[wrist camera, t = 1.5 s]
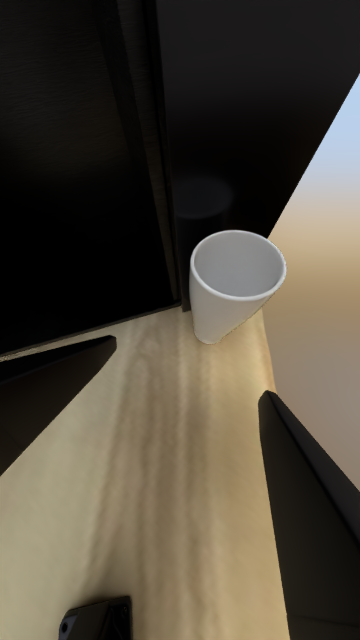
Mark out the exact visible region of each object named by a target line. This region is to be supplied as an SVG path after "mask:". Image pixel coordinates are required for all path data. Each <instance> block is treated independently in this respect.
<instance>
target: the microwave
mask: <svg viewBox="0 0 360 640" xmlns="http://www.w3.org/2000/svg"><path fill="white" fill-rule="evenodd" d="M359 74H360V0H0V357H3V356H7V355H10V354H14V353H17V352H20V351H24V350H27V349H31V348H34V347H38V346H41V345H45V344H48V343H52V342H55V341H59V340H62V339H66V338H69V337H73V336H76V335H80V334H83V333H87V332H90V331H94V330H97V329H101V328H104V327H108V326H111V325H115V324H118V323H122V322H125V321H129V320H132V319H136V318H139V317H143V316H146V315H149V314H153V313H156V312H160V311H163V310H167V309H170V308H174V307H177V306H181V308H182V311H183V312H186V311H190V310H191V304H190V296H189V275H190V261H191V255H192V253H193V251H194V249H195V247H196V246H197V245H198V244H199V243H200V242H201V241H202V240H203V239H205V238H206V237H208V236H210V235H212V234H215V233H218V232H221V231H228V230H241V231H247V232H252V233H255V234H258V235H260V236H262V237H264V238H266V239H267V238H268V237H269V235H270V233H271V231H272V229H273V228H274V226H275V224H276V222H277V221H278V219H279V217H280V215H281V213H282V211H283V210H284V208H285V206H286V205H287V203H288V201H289V199H290V197H291V196H292V194H293V192H294V190H295V188H296V187H297V185H298V183H299V181H300V179H301V178H302V176H303V174H304V172H305V170H306V169H307V167H308V165H309V163H310V161H311V160H312V158H313V156H314V154H315V152H316V151H317V149H318V147H319V145H320V144H321V142H322V140H323V138H324V136H325V134H326V133H327V131H328V129H329V128H330V126H331V124H332V122H333V120H334V119H335V117H336V115H337V113H338V111H339V110H340V108H341V106H342V104H343V102H344V101H345V99H346V97H347V95H348V94H349V92H350V90H351V88H352V86H353V84H354V83H355V81H356V79H357V77H358V76H359Z"/></svg>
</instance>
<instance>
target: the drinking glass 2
mask: <svg viewBox="0 0 360 640" xmlns="http://www.w3.org/2000/svg"><path fill="white" fill-rule="evenodd" d="M286 270H287V268H286V262H285V259H284V256H283V255H282V253H281V251H280V250H279V249H278V248H277V247H276V246H275V245H274V244H273V243H272V242H271V241H269V240H268V239H266V238H264V237H262V236H260V235H258V234H255V233H252V232H247V231H241V230H228V231H221V232H218V233H215V234H212V235H210V236H208V237H206V238H205V239H203V240H202V241H201V242H200V243H199V244H198V245H197V246H196V247H195V249H194V251H193V253H192V255H191V261H190V275H189V296H190V304H191V310H192V317H193V324H194V326H193V329H194V333H195V336H196V337H197V338H198V339H199V340H200V341H201V342H203V343H206V344H216V343H218V342H220V341H221V340H222V339H223V338H224V337H225V336H227V335H228V334H229V333H231V332H232V331H233V330H235V329H236V328H237V327H239V326H240V325H242V324H243V323H244V322H246V321H247V320H248V319H249V318H251V317H252V316H253V315H254V314H255V313H256V312H257V311H258V310H259V309H260V308H261V307H262V306H263V305H264V304H265V303H266V302H267V301H268V300H269V299H270V298H271V296H272V295H273V294H274V293H275V292H276V291H277V290H278V288H279V287H280V286H281V285H282V283H283V281H284V279H285V276H286Z"/></svg>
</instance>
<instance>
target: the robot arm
mask: <svg viewBox="0 0 360 640" xmlns="http://www.w3.org/2000/svg"><path fill="white" fill-rule="evenodd" d="M116 348H117V343H116V337H114V336H112V335H107V336H103V337H99V338H95V339H91V340H87V341H83V342H79V343H75V344H71V345H67V346H63V347H59V348H55V349H51V350H47V351H43V352H39V353H35V354H31V355H27V356H23V357H19V358H15V359H11V360H6V361H2V362H0V476H1V475H2V474H3V473H4V472H5V471H6V470H7V468H8V467H9V466H10V465H11V464H12V463H13V462H14V461H15V460H16V459H17V458H18V457H19V456H20V455H21V454H22V452H23V451H24V450H25V449H26V448H27V447H28V446H29V445H30V444H31V443H32V442H33V441H34V440H35V439H36V438H37V437H38V435H39V434H40V433H41V432H42V431H43V430H44V429H45V428H46V427H47V426H48V425H49V424H50V423H51V422H52V421H53V420H54V419H55V417H56V416H57V415H58V414H59V413H60V412H61V411H62V410H63V409H64V408H65V407H66V406H67V405H68V404H69V403H70V402H71V401H72V399H73V398H74V397H75V396H76V395H77V394H78V393H79V392H80V391H81V390H82V389H83V388H84V387H85V386H86V385H87V384H88V383H89V381H90V380H91V379H92V378H93V377H94V376H95V375H96V374H97V373H98V372H99V371H100V370H101V368H102V367H103V366H104V365H105V363H106V362H107V361H108V359H109V358H110V357H111V356H112V354H113V353H114V352H115V350H116ZM258 412H259V432H260V442H261V448H262V455H263V462H264V468H265V475H266V481H267V488H268V495H269V501H270V508H271V515H272V521H273V528H274V535H275V541H276V548H277V554H278V561H279V568H280V574H281V581H282V588H283V594H284V601H285V608H286V612H287V622H288V629H289V635H290V640H360V492H359V490H358V489H357V488H356V487H355V486H354V484H353V483H352V482H351V481H350V480H349V479H348V477H347V476H346V475H345V474H344V473H343V472H342V470H341V469H340V468H339V467H338V466H337V465H336V463H335V462H334V461H333V460H332V459H331V458H330V456H329V455H328V454H327V453H326V452H325V450H323V448H322V447H321V446H320V445H319V443H318V442H317V441H316V440H315V439H314V438H313V436H312V435H311V434H310V433H309V432H308V431H307V429H306V428H305V427H304V426H303V425H302V424H301V422H300V421H299V420H298V419H297V418H296V417H295V415H294V414H293V413H292V412H291V411H290V409H289V408H288V407H287V406H286V405H285V404H284V403H283V401H282V400H281V399H280V398H279V397H278V395H277V394H276V393H274V392H271V391H268V390H266V391H265V392H264V393H263V395H262V396H261V397H260V399H259V401H258ZM124 607H126V608H127V610H125V609H124ZM66 623H67V624H68V625H66ZM58 640H133V632H132V604H131V600H130V598H129V597H122V598H118V599H114V600H111V601H107V602H103V603H99V604H95V605H91V606H87V607H83V608H79V609H75V610H71V611H68V612H67V613H66V614H65V616H64V618H63V620H62V622H61V624H60V628H59V639H58Z"/></svg>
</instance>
